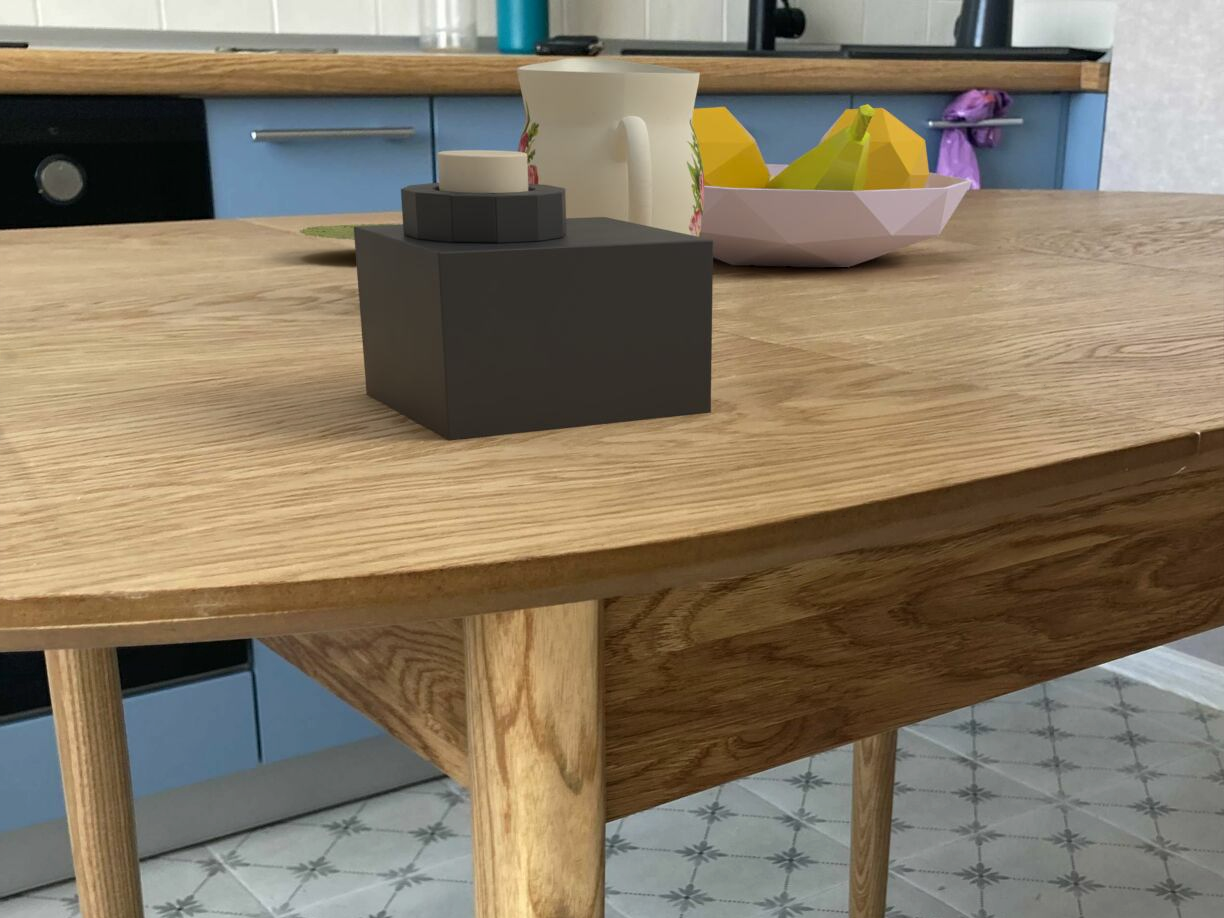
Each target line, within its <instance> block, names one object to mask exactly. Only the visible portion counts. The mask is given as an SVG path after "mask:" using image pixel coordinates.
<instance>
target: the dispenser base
mask: <svg viewBox="0 0 1224 918" xmlns="http://www.w3.org/2000/svg"><path fill="white" fill-rule="evenodd" d="M400 197H401V198H400V199H401V213H402V223H399V224H400V225H373V226H355V227H354V238H355V240H354V249H355V250H354V251H355V263H356V274H357V286H358V287H357V289H358V290H357V291H358V301H359V302H358V304H359V312H360V313H359V314H360V326H361V327H360V328H361V341H362V353H363V366H364V379H365V391H366V395H367V396H368V397H369V398H372V399H373V400H374V401H377V402H379V403H381V404H383V405H384V406H386V407H387V408H390V409H391V410H393V411H395V412H397V413H399V414H401V415H402V416H404V417H406V418H407V419H409V420H411V421H413V422H414V423H416V424H419V425H420V426H422V427H424V428H425V429H427V430H429V431H431V432H433V433H434V434H436V435H437V436H439V437H442V438H443V439H445V440H447V441H451V442H452V441H461V440H470V439H480V438H489V437H496V436H505V435H506V436H509V435H516V434H517V435H518V434H525V433H526V434H527V433H534V432H544V431H545V432H546V431H553V430H563V429H571V428H581V427H591V426H601V425H611V424H618V423H627V422H628V423H629V422H636V421H637V422H638V421H648V420H657V419H665V418H674V417H683V416H693V415H702V414H711V413H712V362H713V361H712V360H713V359H712V357H713V356H712V353H713V351H712V349H713V347H712V346H713V289H714V288H713V286H714V284H713V283H714V282H713V280H714V279H713V278H714V276H713V275H714V268H713V267H714V257H713V240H712V239H707V238H702V237H698V236H693V235H688V234H683V233H679V232H674V231H669V230H664V229H660V228H655V227H650V226H645V225H640V224H636V223H631V222H626V221H621V220H617V219H612V218H607V217H590V218H566V198H565V189H564V188H561V187H555V186H550V185H541V184H528V191H524V192H505V193H467V192H451V191H439V182H432V183H431V182H430V183H421V184H420V183H419V184H410V185H407V186H405V187H403V188H400Z"/></svg>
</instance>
